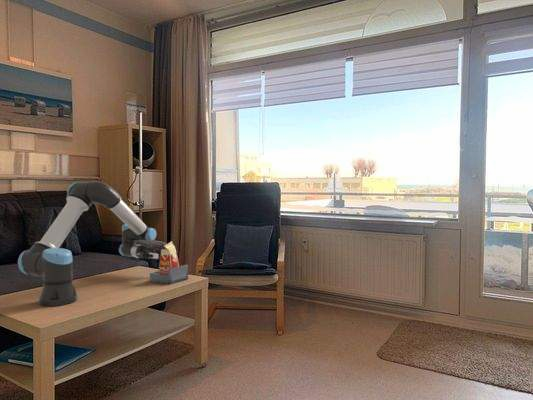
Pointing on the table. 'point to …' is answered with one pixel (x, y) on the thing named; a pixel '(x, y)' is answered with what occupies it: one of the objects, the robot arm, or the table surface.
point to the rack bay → (171, 275)
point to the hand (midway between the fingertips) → (167, 254)
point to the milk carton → (168, 258)
